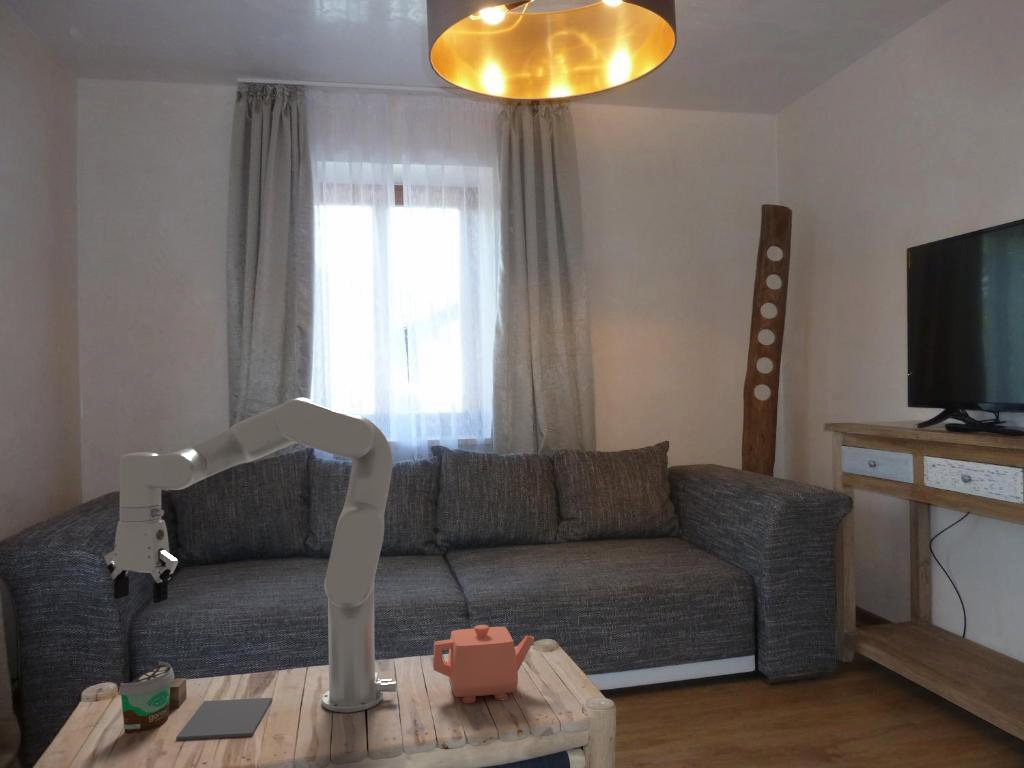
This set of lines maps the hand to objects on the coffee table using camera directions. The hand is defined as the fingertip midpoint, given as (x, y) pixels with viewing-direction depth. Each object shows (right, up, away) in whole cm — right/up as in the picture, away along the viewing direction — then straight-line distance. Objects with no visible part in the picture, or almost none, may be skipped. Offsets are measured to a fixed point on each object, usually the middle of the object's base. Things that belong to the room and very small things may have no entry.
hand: (140, 599), depth 150 cm
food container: (+4, -24, -2) cm, 25 cm away
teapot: (+69, -23, +10) cm, 74 cm away
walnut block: (+3, -24, +7) cm, 25 cm away
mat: (+18, -24, -1) cm, 30 cm away
